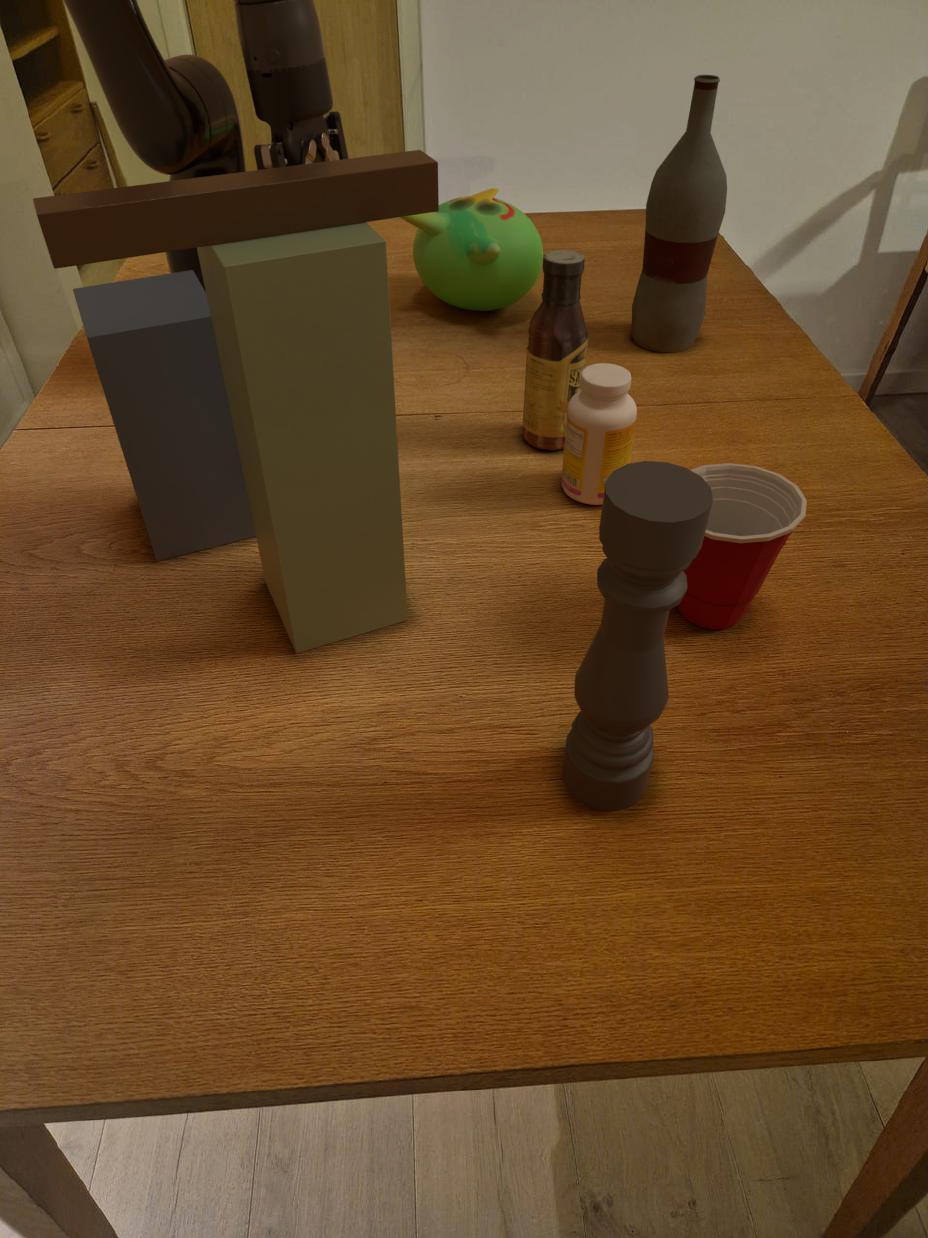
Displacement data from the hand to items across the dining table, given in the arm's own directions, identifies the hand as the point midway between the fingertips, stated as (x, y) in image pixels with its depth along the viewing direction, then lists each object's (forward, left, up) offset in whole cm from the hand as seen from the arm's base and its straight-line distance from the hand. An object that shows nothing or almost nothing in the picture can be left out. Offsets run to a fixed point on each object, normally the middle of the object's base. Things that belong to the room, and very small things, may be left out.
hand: (319, 237), depth 91 cm
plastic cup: (+48, -22, -18) cm, 56 cm away
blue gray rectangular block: (-1, -27, -18) cm, 33 cm away
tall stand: (+17, -33, -18) cm, 41 cm away
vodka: (+34, +29, -18) cm, 48 cm away
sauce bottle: (+27, 0, -18) cm, 32 cm away
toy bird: (+7, +30, -18) cm, 36 cm away
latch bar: (+15, -35, +14) cm, 40 cm away
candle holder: (+44, -43, -18) cm, 64 cm away
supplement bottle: (+34, -8, -18) cm, 39 cm away
